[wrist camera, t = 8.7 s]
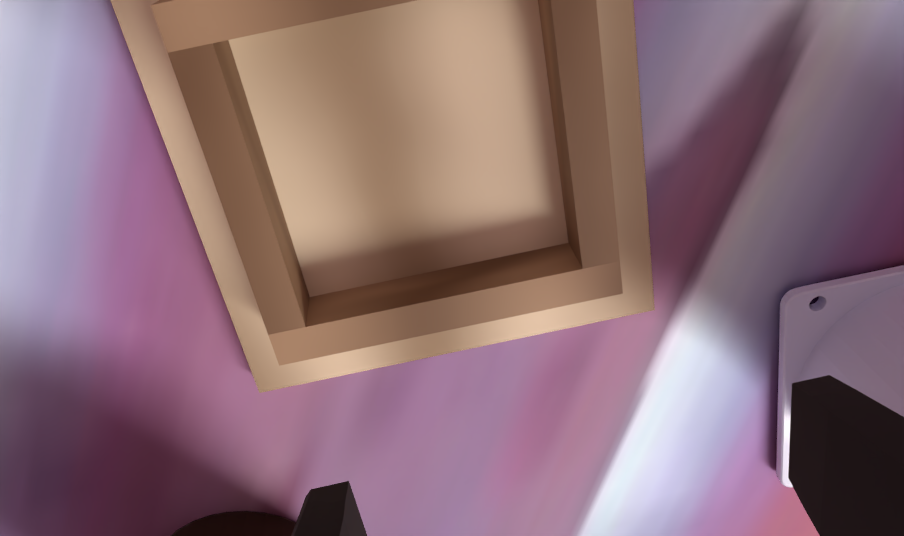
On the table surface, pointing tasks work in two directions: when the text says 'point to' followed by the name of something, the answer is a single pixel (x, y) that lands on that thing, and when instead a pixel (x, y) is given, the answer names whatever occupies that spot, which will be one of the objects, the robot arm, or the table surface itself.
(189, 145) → the jug board
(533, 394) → the table surface
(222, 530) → the coffee mug
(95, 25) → the table surface
